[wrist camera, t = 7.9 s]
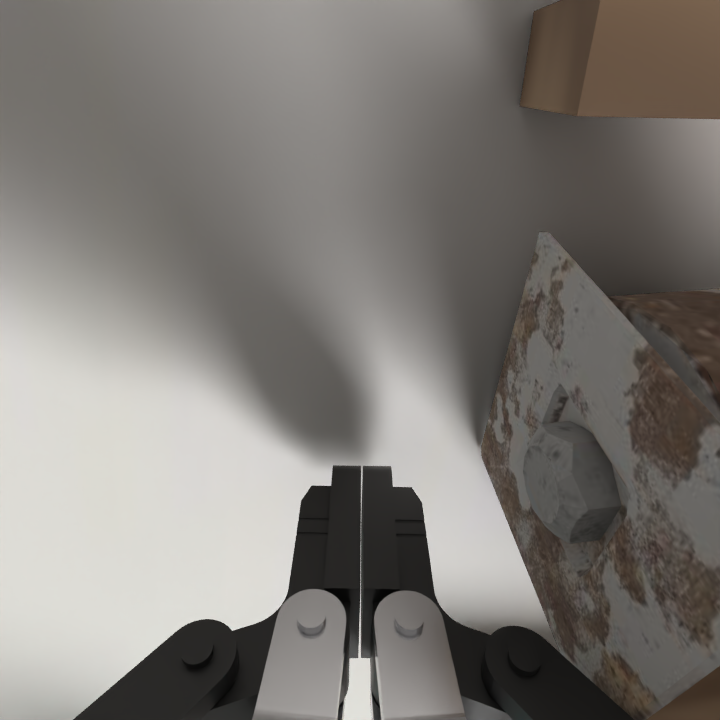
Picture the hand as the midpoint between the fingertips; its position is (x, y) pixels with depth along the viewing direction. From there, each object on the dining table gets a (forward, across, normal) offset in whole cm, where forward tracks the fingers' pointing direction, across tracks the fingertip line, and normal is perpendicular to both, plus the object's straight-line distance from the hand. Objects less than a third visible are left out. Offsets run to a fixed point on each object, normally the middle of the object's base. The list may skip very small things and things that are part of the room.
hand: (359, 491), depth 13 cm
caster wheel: (+1, -8, -1) cm, 8 cm away
